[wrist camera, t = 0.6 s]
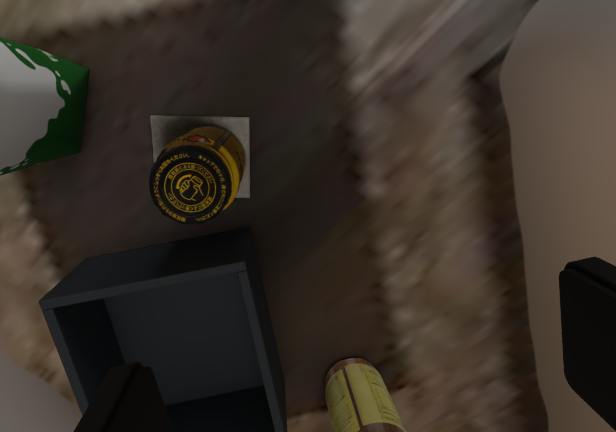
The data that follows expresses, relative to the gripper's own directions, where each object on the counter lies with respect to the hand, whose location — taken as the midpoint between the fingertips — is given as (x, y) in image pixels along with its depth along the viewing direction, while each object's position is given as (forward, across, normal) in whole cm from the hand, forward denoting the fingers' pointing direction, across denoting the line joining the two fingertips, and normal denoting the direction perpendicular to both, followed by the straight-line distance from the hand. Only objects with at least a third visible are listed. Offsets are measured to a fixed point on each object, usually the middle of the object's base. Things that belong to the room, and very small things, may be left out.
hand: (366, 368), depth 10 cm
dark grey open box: (+32, +13, +14) cm, 37 cm away
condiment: (+32, +8, -2) cm, 33 cm away
